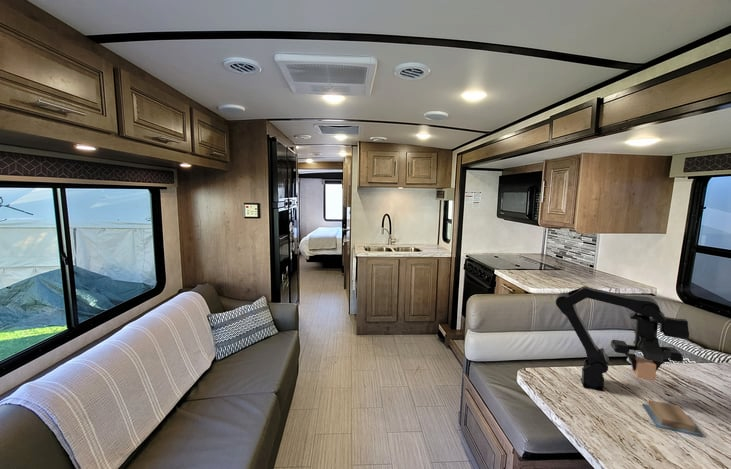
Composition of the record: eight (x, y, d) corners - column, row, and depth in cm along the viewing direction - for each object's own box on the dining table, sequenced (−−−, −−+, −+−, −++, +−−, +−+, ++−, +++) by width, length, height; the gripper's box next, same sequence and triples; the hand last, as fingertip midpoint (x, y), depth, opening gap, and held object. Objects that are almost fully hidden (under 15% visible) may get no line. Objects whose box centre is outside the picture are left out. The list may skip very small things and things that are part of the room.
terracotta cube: (637, 377, 108) (638, 362, 107) (631, 370, 112) (632, 356, 111) (655, 381, 105) (656, 365, 105) (649, 373, 110) (650, 358, 109)
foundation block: (656, 426, 97) (656, 418, 97) (642, 405, 107) (642, 398, 106) (702, 437, 92) (703, 428, 92) (683, 414, 102) (684, 406, 102)
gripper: (621, 337, 104) (619, 378, 105) (694, 346, 96) (690, 390, 97) (611, 324, 114) (609, 362, 115) (676, 332, 106) (673, 372, 107)
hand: (643, 371), depth 109 cm, fingers closed on terracotta cube, 5 cm apart
